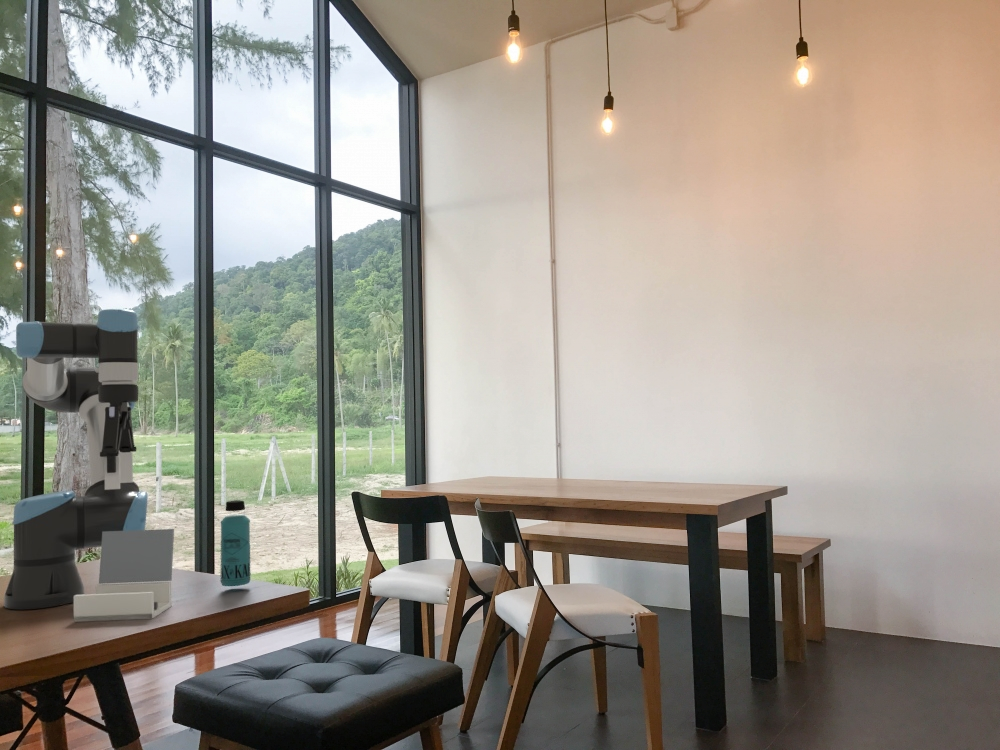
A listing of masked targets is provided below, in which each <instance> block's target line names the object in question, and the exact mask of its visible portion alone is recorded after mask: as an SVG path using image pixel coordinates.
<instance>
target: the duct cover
mask: <svg viewBox="0 0 1000 750" xmlns="http://www.w3.org/2000/svg"><path fill="white" fill-rule="evenodd" d="M174 542H175V529H174V528H166V529H165V528H164V529H162V528H161V529H145V530H132V531H105V532H102V544H101V547H100V562H99V575H98V576H99V577H98V585H102V584H127V583H153V582H172V579H173V577H172V576H173V559H174Z"/></svg>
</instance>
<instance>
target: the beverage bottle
mask: <svg viewBox="0 0 1000 750" xmlns="http://www.w3.org/2000/svg"><path fill="white" fill-rule="evenodd" d="M245 508H246V507H245V501H244V500H238V499H237V500H235V499H234V500H230V501H229V500H228V501H226V503H225V512H238V511H245V510H246V509H245ZM250 522H251V520H250V518H249V517H248V516H247V515H245V514H233V515H226V516H225V517H223V518H222V519H221V521H220V542H219V543H220V551H219V552H220V559H219V562H220V565H219V566H220V567H219V568H220V570H219V571H220V572H219V573H220V575H219V576H220V580H219V581H220V584H221V585H222V586H223V587H238V586H240V587H241V586H245V585H248V584H249V583H250V582H251V578H252V572H251V571H252V570H251V564H252V561H251V544H250V543H251V541H250V540H251V536H250V534H251V533H250V532H251V531H250V527H251V526H250Z"/></svg>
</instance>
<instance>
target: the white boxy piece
mask: <svg viewBox="0 0 1000 750" xmlns="http://www.w3.org/2000/svg"><path fill="white" fill-rule="evenodd" d="M171 607H172V581H154V582H128V583H102V584H96V585H95V593H92V594H91V593H90V594H89V593H87V594H85V593H84V595H75V596H74V602H73V622H74V623H77V622H78V623H80V622H81V623H82V622H105V621H106V622H107V621H129V620H132V621H133V620H152V619H154V618H156V617H157V616H159V615H160V614H162V613H163V612H165V611H166V610H168V609H169V608H171Z"/></svg>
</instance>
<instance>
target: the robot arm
mask: <svg viewBox="0 0 1000 750" xmlns="http://www.w3.org/2000/svg"><path fill="white" fill-rule="evenodd" d="M138 330H139V324H138V315H137V312H136V311H134V310H131V309H124V308H123V309H121V308H115V309H114V308H110V309H108V308H107V309H101V310H100V311H99V312H98V314H97V322H96V323H92V322H91V323H87V322H86V323H85V322H56V321H55V322H53V321H51V322H50V321H37V320H35V321H24V322H23V321H21V322H19V323H18V324H16V330H15V340H16V341H15V342H16V343H15V345H16V346H15V348H16V350H15V351H16V355H17V357H19V358H23V359H24V358H26V368H27V369H26V371H25V372H24V374H23V377H22V388H23V392H24V393H25V395H26V397H28V399H30V400H31V401H32V402H33V403H34V404H36V405H38V406H40V407H42V408H44V409H46V410H49V411H53V412H56V413H64V414H65V413H69V414H70V413H78V414H79V416H80V418H81V419H82V420H83V421H84V422H85V423H86V429H87V430H86V431H87V434H86V435H87V445H88V447H87V448H88V460H89V461H88V462H89V476H90V485H89V486H88V487H87V488H86V489H85V491H84V495H81V496H76V493H75V491H74V490H62V491H61V490H60V491H55V492H54V491H53V492H49V493H48V492H47V493H43V494H38V495H35V496H30V497H26V498H23V499H20V500H19V501H17V503H16V504H15V505H14V507H13V521H12V522H11V523H12V525H13V571H12V573H11V576H10V579H9V581H8V585H7V588H6V590H5V594H4V597H3V599H4V600H3V601H4V602H3V605H4V608H5V609H9V610H34V609H37V610H38V609H45V608H51V607H52V608H53V607H56V606H63V605H67V604H71V603H74V596H75V595H84V594H85V586H84V583H83V580H82V577H81V575H80V572H79V569H78V566H77V564H76V550H83V549H84V550H85V549H91V548H92V549H94V548H101V544H102V532H105V531H132V530H146V525H147V523H146V522H147V512H148V509H147V508H148V497H149V495H148V493H147V491H142V490H140V487H139V485H138V484H137V482H135V481H134V478H133V477H134V476H133V475H134V474H133V473H134V472H133V471H134V468H133V467H134V464H133V463H134V462H133V457H134V455H133V452H137V446H135V442H134V441H135V440H134V431H133V429H134V428H133V420H132V411H133V410H134V408H135V405H136V403H137V402H138V401H139V385H138V384H136V383H137V382H139V360H138V341H139V340H138V339H139V338H138ZM70 358H71V359H76V358H77V359H84V358H85V359H98V361H97V365H98V367H92V366H91V367H89V366H88V367H85V366H84V367H80V366H79V367H76V366H75V367H73V366H72V367H70V366H69V367H68V366H67V367H66V366H65V365H66V359H70Z"/></svg>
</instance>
